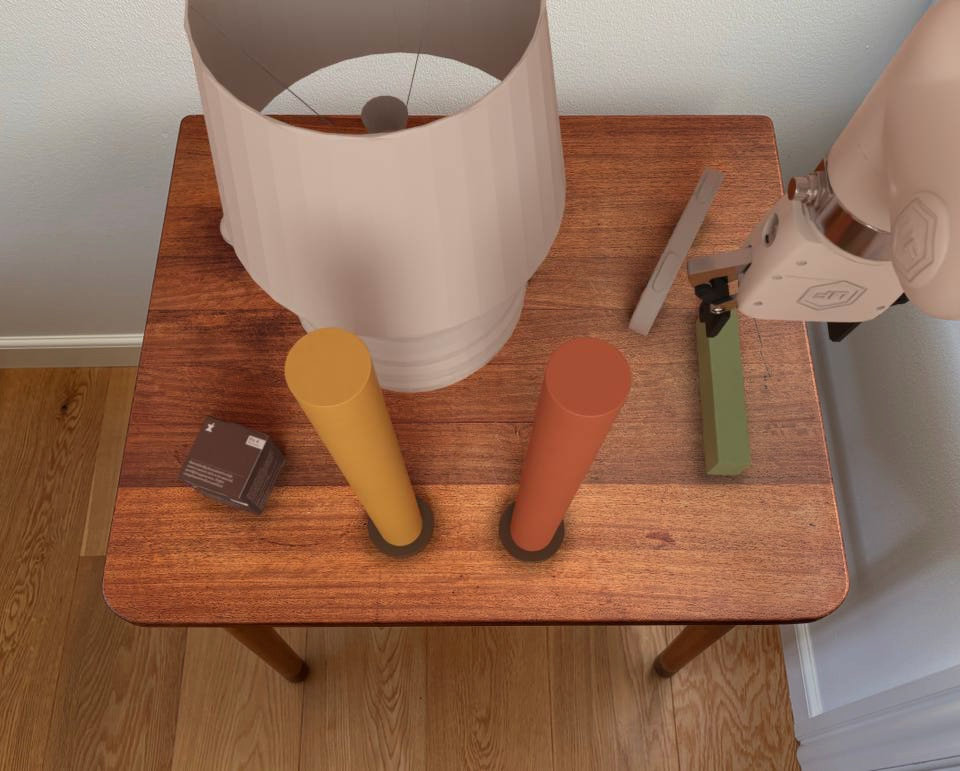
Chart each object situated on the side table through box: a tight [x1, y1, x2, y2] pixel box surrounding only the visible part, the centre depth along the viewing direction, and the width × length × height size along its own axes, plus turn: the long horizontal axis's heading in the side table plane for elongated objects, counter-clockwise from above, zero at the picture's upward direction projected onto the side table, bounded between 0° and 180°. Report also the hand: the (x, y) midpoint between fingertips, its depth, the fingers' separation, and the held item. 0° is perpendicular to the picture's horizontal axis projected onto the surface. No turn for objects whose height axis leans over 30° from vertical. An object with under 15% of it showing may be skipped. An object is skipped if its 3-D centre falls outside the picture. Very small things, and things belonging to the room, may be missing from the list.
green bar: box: [694, 308, 752, 476], centre depth 74 cm, size 3×16×4 cm, turn 178°
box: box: [176, 414, 287, 517], centre depth 69 cm, size 6×6×7 cm
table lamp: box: [183, 0, 567, 394], centre depth 60 cm, size 25×25×40 cm
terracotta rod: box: [498, 336, 633, 565], centre depth 53 cm, size 6×6×38 cm
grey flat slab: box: [627, 166, 726, 337], centre depth 77 cm, size 20×2×8 cm, turn 152°
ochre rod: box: [284, 327, 435, 559], centre depth 53 cm, size 6×6×38 cm
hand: (770, 322), depth 60 cm, fingers open, 9 cm apart
